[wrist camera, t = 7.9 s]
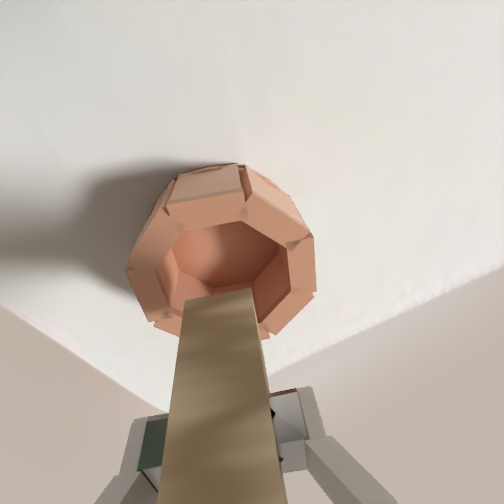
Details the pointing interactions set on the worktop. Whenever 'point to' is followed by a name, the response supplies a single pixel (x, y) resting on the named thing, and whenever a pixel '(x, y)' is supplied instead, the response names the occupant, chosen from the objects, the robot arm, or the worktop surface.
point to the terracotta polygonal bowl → (223, 248)
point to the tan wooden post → (220, 410)
